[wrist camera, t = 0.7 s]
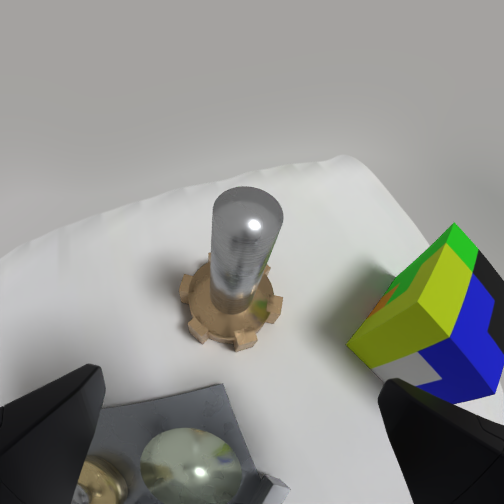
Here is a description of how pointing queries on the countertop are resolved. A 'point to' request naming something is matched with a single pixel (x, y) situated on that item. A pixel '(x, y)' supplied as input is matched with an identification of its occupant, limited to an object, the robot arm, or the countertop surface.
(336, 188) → the countertop surface
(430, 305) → the puzzle toy
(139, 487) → the carrier plate
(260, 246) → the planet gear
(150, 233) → the countertop surface
